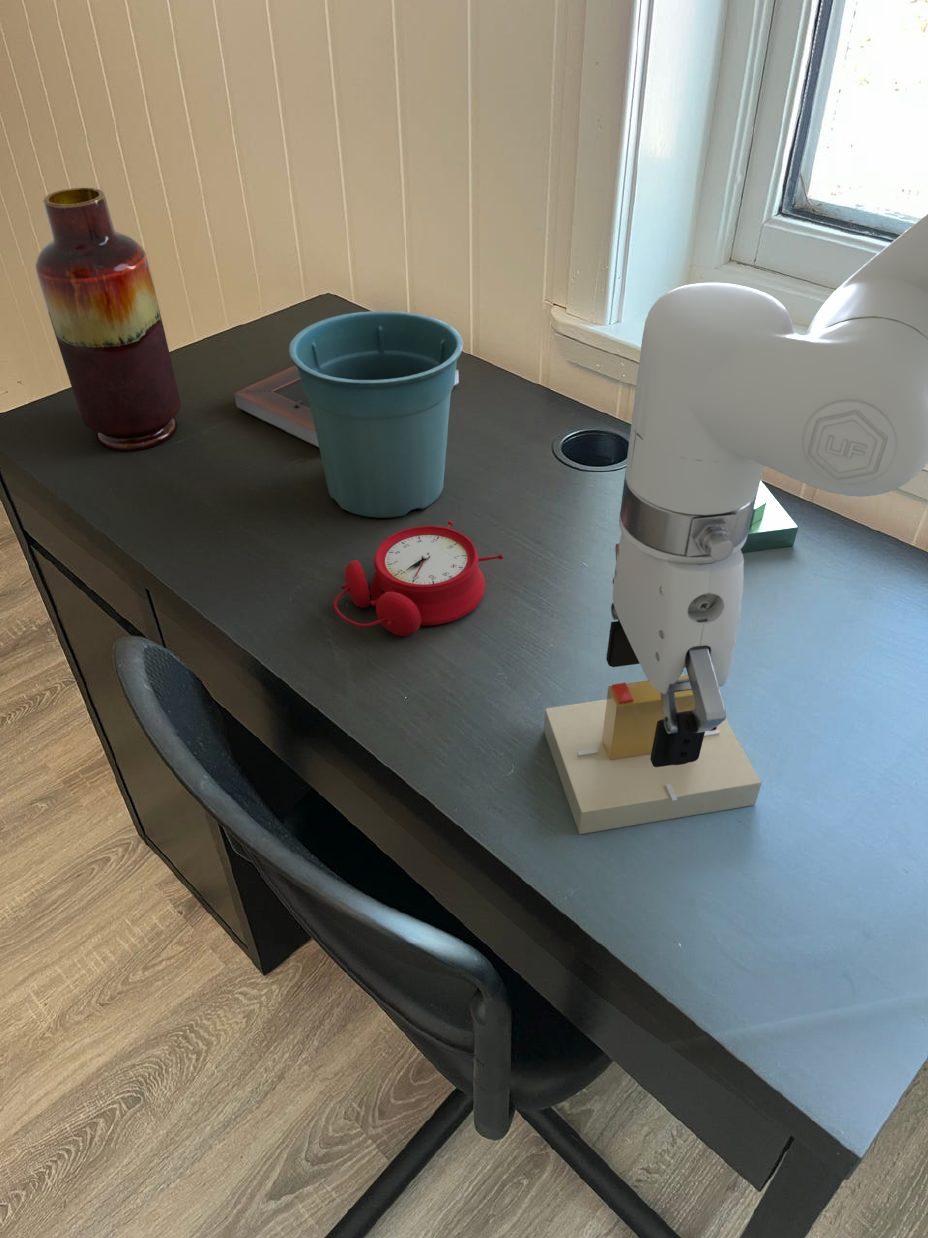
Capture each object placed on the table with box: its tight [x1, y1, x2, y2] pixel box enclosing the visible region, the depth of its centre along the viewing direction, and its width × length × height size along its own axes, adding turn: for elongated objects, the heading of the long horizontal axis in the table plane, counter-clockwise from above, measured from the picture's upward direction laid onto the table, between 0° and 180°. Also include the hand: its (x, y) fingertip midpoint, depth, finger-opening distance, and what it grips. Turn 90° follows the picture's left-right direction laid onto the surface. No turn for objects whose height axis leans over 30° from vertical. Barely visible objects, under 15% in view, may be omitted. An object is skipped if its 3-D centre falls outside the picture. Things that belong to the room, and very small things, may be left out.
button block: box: [740, 480, 799, 553], centre depth 92 cm, size 10×9×4 cm
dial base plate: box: [543, 698, 762, 835], centre depth 69 cm, size 13×11×3 cm
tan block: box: [602, 674, 695, 760], centre depth 67 cm, size 6×2×6 cm, turn 101°
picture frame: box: [233, 364, 460, 448], centre depth 114 cm, size 16×2×22 cm
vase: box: [34, 187, 181, 452], centre depth 101 cm, size 11×11×26 cm
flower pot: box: [288, 310, 464, 519], centre depth 95 cm, size 16×16×16 cm
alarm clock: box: [333, 520, 504, 637], centre depth 84 cm, size 10×6×15 cm
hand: (649, 709), depth 66 cm, fingers open, 9 cm apart
